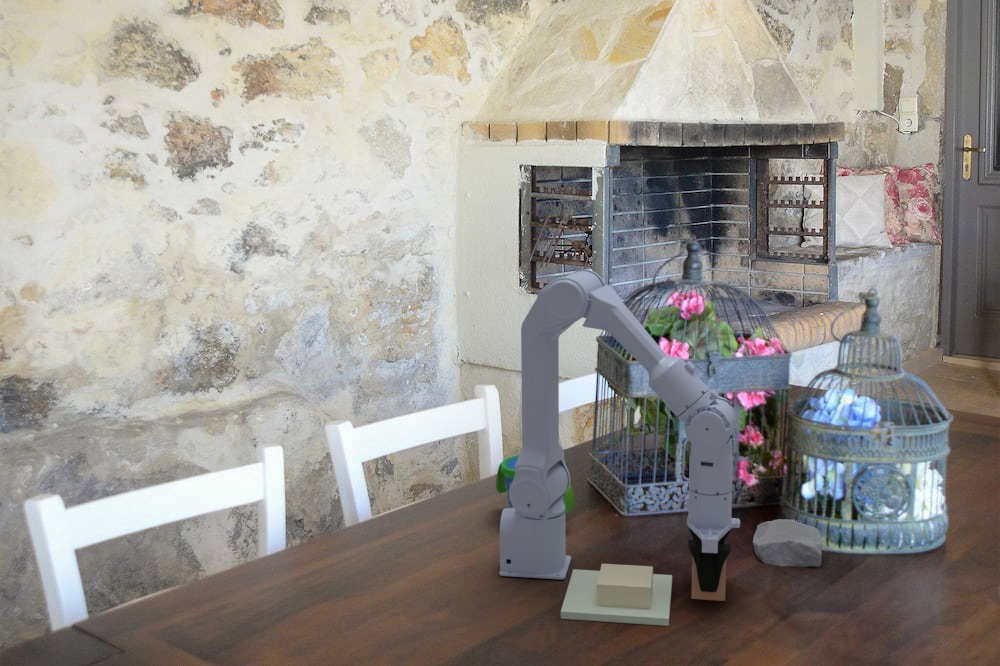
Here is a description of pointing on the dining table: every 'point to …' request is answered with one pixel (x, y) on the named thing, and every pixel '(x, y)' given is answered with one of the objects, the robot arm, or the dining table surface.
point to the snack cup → (507, 476)
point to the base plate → (592, 612)
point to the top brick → (716, 595)
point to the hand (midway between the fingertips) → (708, 583)
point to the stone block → (788, 543)
